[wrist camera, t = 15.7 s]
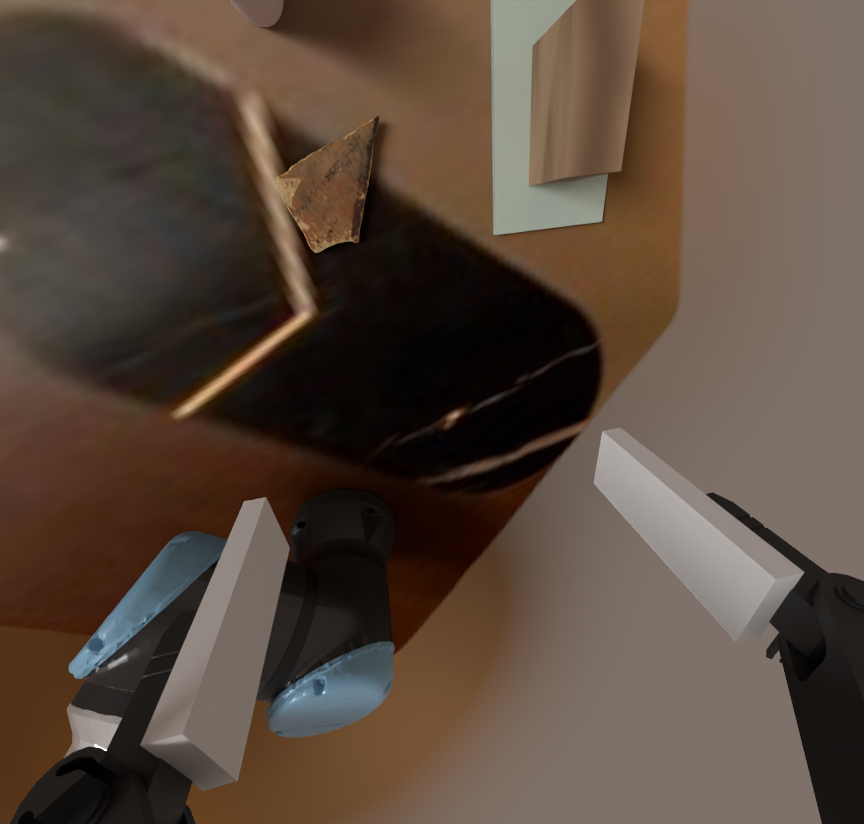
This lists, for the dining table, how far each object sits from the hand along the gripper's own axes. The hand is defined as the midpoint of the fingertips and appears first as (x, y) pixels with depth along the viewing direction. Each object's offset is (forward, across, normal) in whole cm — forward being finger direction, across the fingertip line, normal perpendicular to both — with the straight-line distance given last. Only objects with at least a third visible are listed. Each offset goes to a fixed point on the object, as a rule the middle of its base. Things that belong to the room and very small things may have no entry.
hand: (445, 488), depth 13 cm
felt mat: (+29, -18, -16) cm, 37 cm away
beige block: (+28, -18, -16) cm, 37 cm away
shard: (+29, +4, -13) cm, 32 cm away
